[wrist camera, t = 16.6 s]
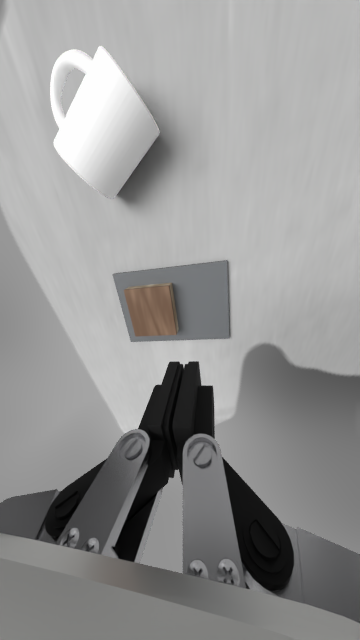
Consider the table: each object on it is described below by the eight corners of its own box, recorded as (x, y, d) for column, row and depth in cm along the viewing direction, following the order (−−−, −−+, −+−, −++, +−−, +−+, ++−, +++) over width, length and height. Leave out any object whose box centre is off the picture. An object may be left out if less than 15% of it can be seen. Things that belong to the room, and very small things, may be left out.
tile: (168, 285, 29) (123, 290, 31) (176, 334, 33) (135, 336, 34) (171, 282, 31) (129, 286, 33) (178, 328, 35) (139, 330, 36)
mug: (166, 144, 24) (147, 104, 17) (122, 204, 28) (91, 192, 21) (99, 54, 22) (44, -36, 15) (61, 133, 26) (2, 93, 19)
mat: (226, 260, 29) (227, 260, 28) (229, 336, 34) (229, 338, 34) (114, 273, 33) (112, 274, 32) (132, 340, 38) (130, 341, 38)
